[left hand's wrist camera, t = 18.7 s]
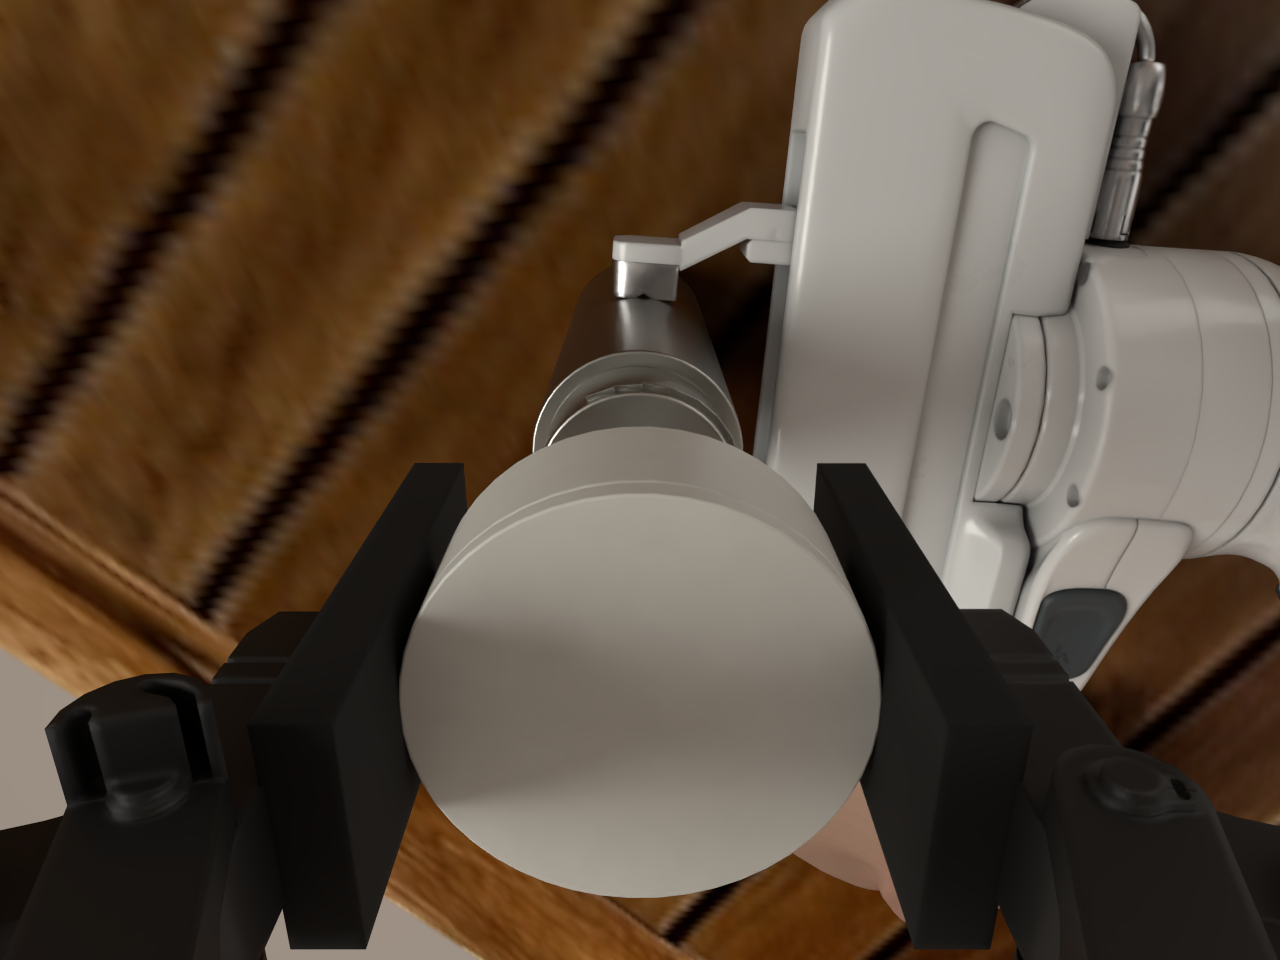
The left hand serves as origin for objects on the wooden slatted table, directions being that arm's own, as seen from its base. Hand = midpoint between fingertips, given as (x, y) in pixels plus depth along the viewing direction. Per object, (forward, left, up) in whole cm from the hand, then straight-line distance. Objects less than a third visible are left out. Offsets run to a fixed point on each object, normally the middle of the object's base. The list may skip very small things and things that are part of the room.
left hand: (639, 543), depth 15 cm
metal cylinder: (0, 0, -18) cm, 18 cm away
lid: (0, 0, +4) cm, 4 cm away
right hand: (+1, -1, -12) cm, 12 cm away
